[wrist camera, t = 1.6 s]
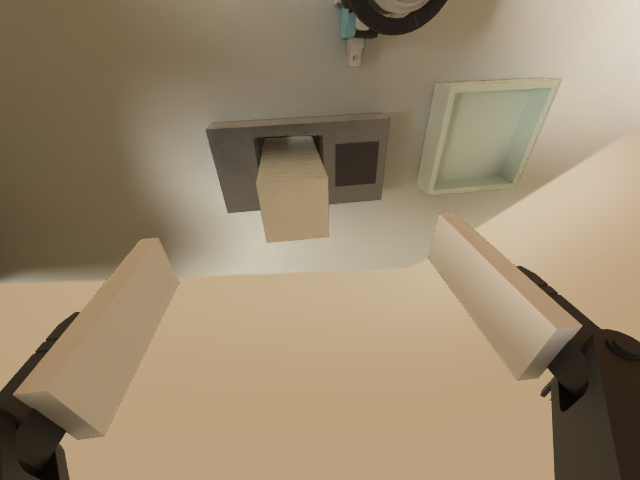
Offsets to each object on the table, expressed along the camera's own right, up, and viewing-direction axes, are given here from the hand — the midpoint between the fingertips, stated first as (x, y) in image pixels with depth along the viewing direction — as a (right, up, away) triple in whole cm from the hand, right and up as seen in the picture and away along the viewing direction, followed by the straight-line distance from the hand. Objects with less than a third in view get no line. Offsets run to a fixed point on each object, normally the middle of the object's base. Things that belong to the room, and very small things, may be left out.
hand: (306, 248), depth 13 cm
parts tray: (+15, +10, +12) cm, 22 cm away
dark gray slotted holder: (-1, +8, +11) cm, 14 cm away
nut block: (-2, +8, +11) cm, 14 cm away
